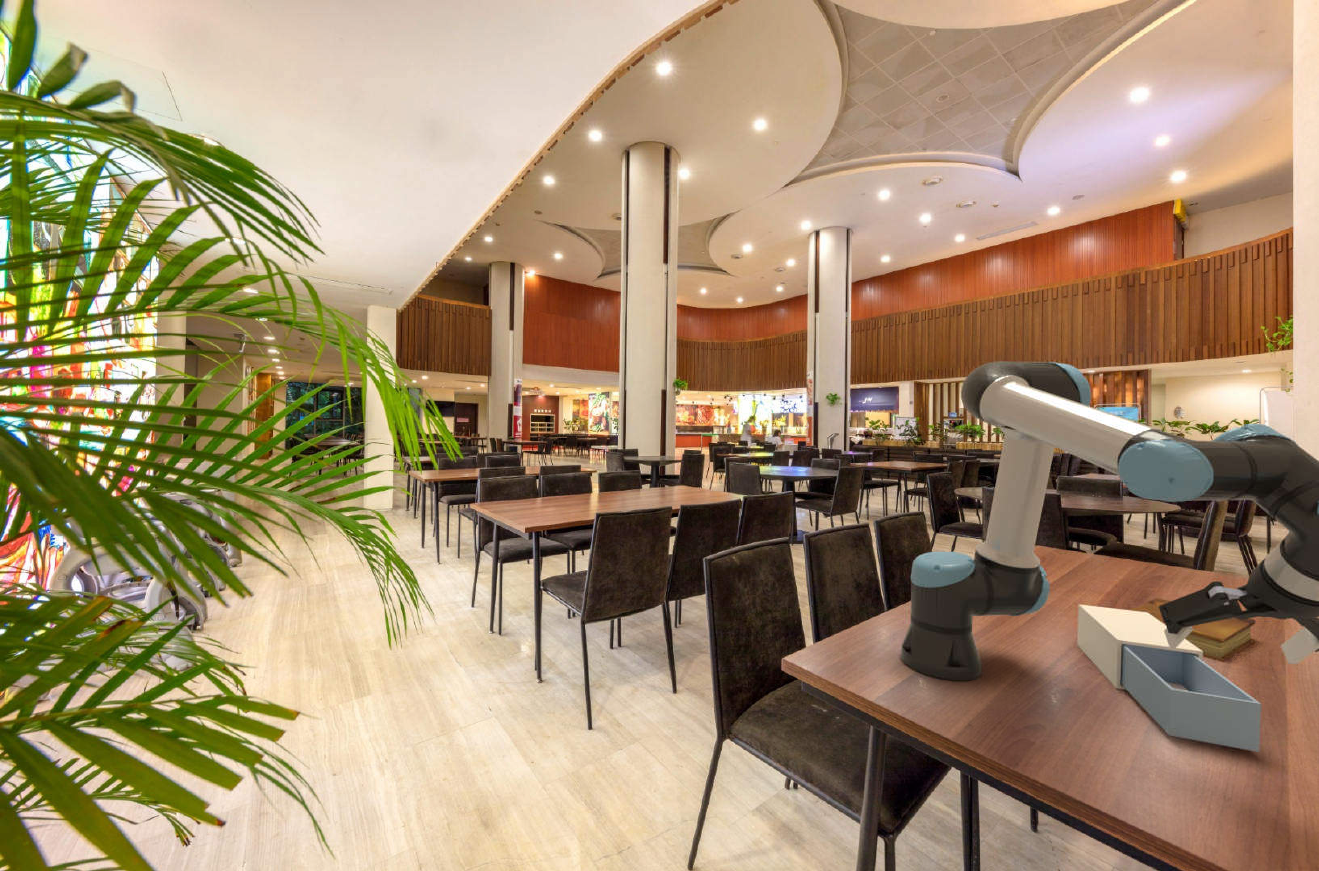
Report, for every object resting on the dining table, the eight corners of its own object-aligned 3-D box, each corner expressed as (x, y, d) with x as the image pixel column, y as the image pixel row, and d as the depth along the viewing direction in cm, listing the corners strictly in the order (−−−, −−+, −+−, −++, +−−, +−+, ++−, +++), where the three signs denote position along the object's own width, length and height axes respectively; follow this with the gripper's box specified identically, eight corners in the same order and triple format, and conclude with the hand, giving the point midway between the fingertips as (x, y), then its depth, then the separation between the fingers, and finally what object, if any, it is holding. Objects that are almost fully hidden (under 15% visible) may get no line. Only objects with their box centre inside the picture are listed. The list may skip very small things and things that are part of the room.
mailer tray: (1259, 751, 82) (1261, 703, 81) (1169, 735, 86) (1170, 689, 86) (1183, 686, 102) (1185, 648, 102) (1113, 675, 106) (1115, 638, 106)
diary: (1152, 618, 143) (1153, 597, 142) (1254, 643, 126) (1255, 620, 126) (1116, 633, 131) (1116, 610, 131) (1222, 664, 115) (1223, 638, 115)
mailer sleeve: (1201, 702, 98) (1203, 651, 98) (1116, 688, 103) (1117, 639, 103) (1146, 654, 118) (1147, 612, 118) (1077, 644, 123) (1078, 604, 123)
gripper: (1186, 590, 69) (1131, 656, 83) (1474, 620, 59) (1356, 688, 74) (1167, 542, 74) (1118, 611, 88) (1431, 562, 64) (1328, 637, 78)
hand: (1226, 647), depth 81 cm, fingers open, 13 cm apart
